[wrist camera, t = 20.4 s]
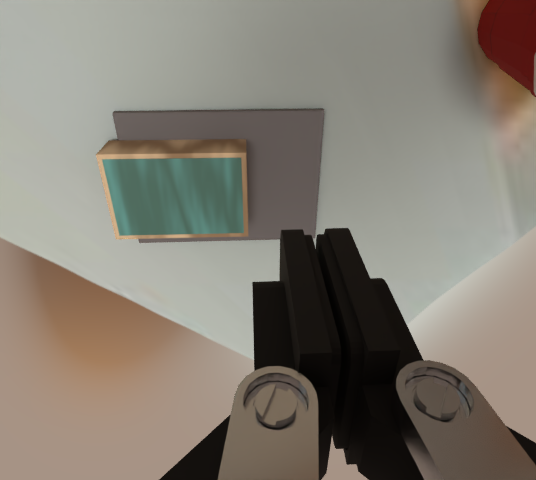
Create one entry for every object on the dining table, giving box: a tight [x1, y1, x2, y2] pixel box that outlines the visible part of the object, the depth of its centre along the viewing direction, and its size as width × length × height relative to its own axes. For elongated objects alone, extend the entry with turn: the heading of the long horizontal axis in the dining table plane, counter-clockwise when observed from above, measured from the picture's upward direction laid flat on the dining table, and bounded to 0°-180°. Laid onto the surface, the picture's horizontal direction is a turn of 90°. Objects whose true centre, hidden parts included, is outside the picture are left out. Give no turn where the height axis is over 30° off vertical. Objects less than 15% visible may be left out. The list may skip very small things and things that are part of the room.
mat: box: [113, 109, 324, 243], centre depth 38 cm, size 18×13×1 cm
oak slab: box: [96, 139, 248, 239], centre depth 36 cm, size 4×8×12 cm
